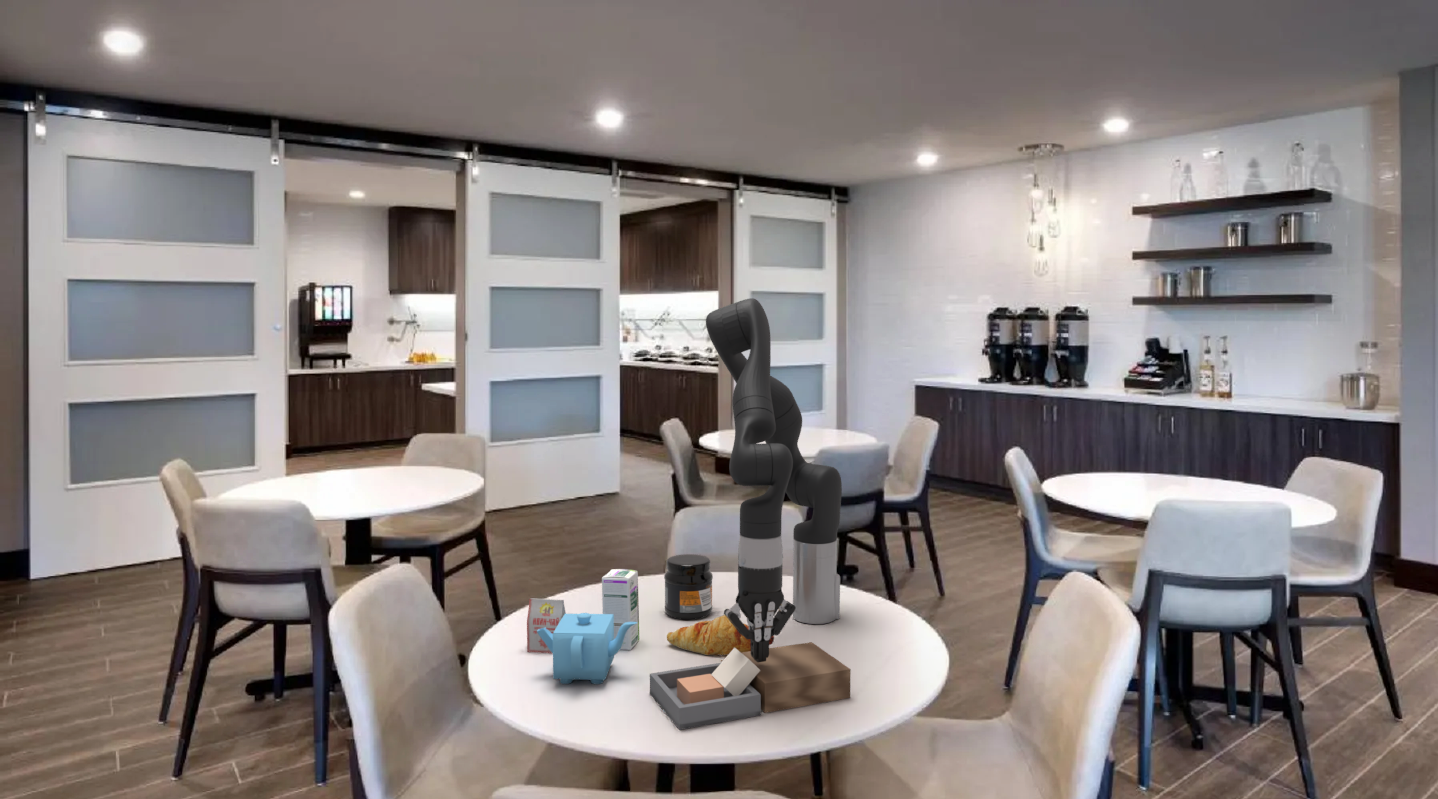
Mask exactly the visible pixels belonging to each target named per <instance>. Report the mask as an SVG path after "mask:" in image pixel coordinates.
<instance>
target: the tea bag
mask: <svg viewBox="0 0 1438 799" xmlns="http://www.w3.org/2000/svg"><path fill="white" fill-rule="evenodd" d="M528 600H529V601H528V602H529V603H528V612H527V618H526V634H527V635H526V645H527V646H526V647H527V650H526V652H529V653H540V654H541V653H542V654H543V653H544V654H553V653H552V652H551V651H550V649H549V648H548V647H547V645H546V644H545V643H544V641H543V640H542V638H541V637H540V636H539V634H538V633H537V630H538V629H541V628H545V627H546V629H547V630H548V631H550V632H551V633H552V634H553V633H554V631H555V629H556V627H557V626H558V624H559V622H560V621H561V619H562V618H563V616H564V615H565V614H567V612H566V607H565V602H564V601H565V600H564V599H552V598H551V599H550V598H532V597H530V598H529V599H528Z"/></svg>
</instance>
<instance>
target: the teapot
mask: <svg viewBox="0 0 1438 799" xmlns="http://www.w3.org/2000/svg"><path fill="white" fill-rule="evenodd" d="M634 624H637V622H626V623H624V624H622V625H621V627H620V628H619V631H618V634H617V636H616V638H615V639H614V615H613V614H603V613H588V612H581V613H566V614H565V615H564V616H563V618H562V619H561V621H560V622H559V624H558V626H557V627H556V629H555V631H554V633H553V634H552V633H551V632H550V631H548V630H547V629H546V627H545V628H541V629H538V630H537V633H538V634H539V636H540V637H541V638H542V640H543V641H544V643H545V644H546V645H547V647H548V648H549V649H550V651H551V652H552V653H551V654H552V679H553V680H559V683H560V684H562V685H567V684H572V683H573V681H574V680H579V681H580V680H585V681H586V680H587V681H589V680H590V683H591V685H592V684H593V685H600V684H603V683H604V681H606V679H607V677H608V674H609V670H611V666H612V663H613V661H614V658H615V655H617V654H618V652H619V651H620V648H621V646H622V643H623V640H624V637H625V634H626V632H627V630H628V629H629V628H630V627H631V626H633V625H634Z"/></svg>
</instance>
